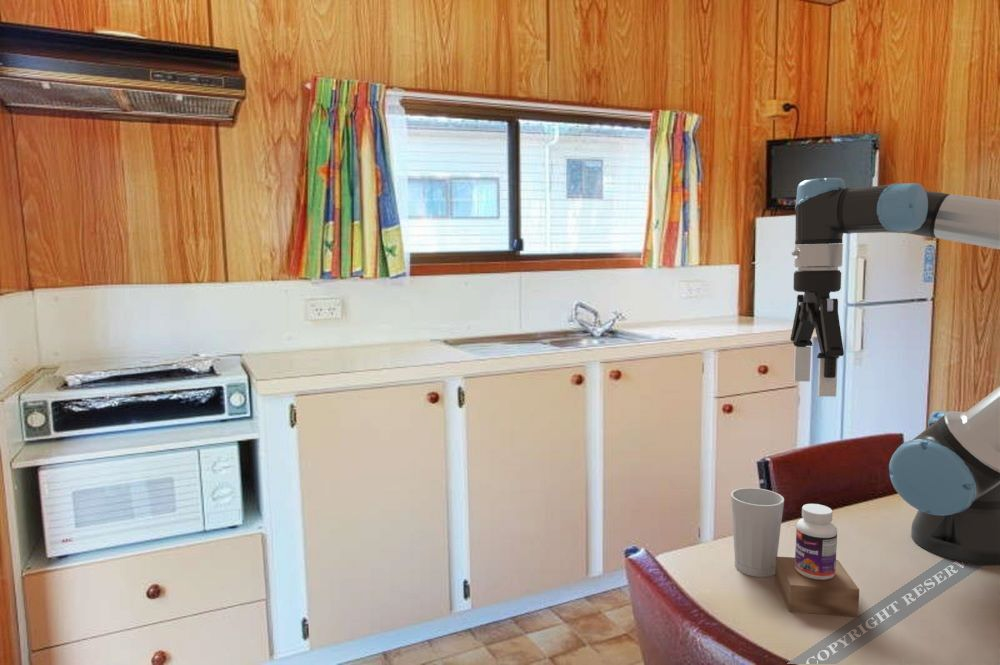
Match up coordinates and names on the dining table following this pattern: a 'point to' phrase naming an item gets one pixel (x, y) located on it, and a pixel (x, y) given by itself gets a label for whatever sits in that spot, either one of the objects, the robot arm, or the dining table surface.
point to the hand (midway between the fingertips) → (813, 388)
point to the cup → (756, 530)
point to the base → (816, 590)
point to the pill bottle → (816, 543)
